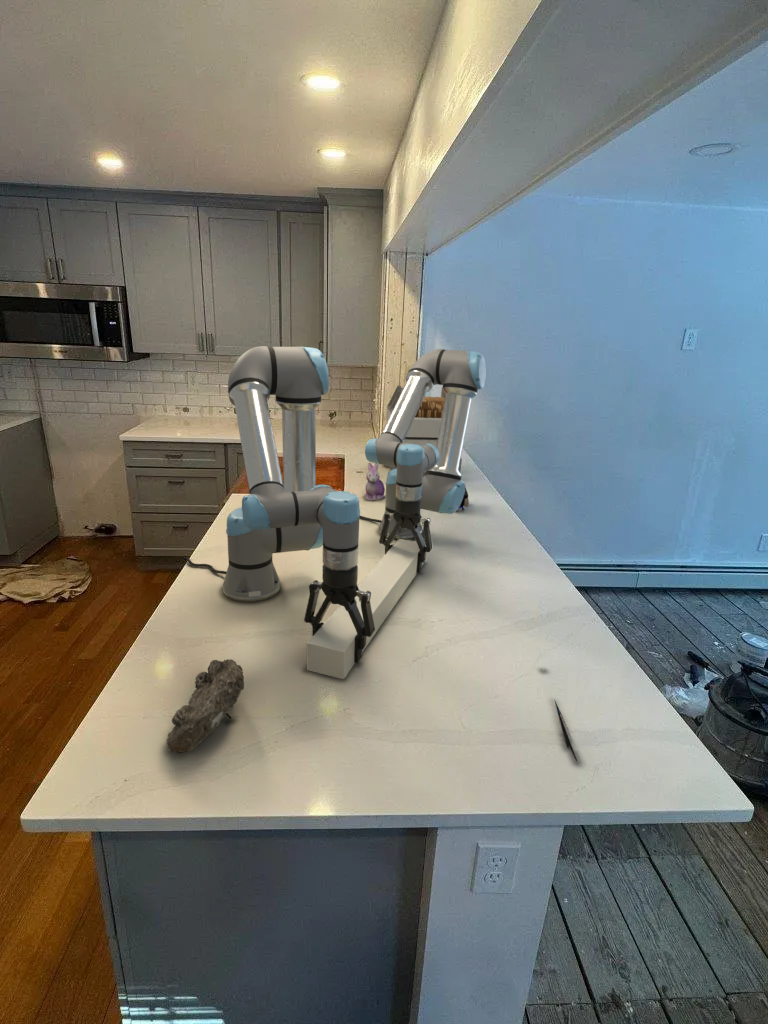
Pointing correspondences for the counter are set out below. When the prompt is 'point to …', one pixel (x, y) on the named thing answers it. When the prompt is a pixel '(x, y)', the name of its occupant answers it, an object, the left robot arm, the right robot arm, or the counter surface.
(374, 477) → the figurine
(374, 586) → the wide beam
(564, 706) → the counter surface
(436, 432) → the transformer
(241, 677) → the fossil
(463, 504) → the figurine character
